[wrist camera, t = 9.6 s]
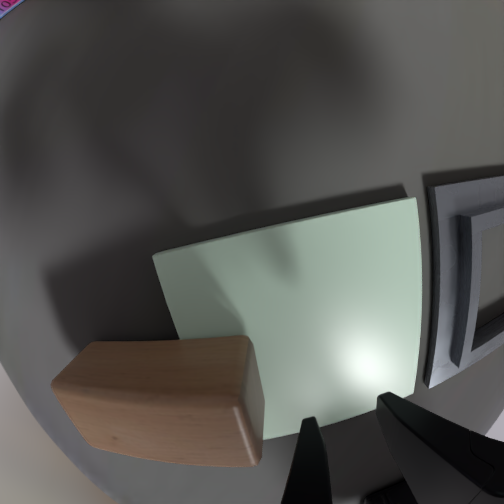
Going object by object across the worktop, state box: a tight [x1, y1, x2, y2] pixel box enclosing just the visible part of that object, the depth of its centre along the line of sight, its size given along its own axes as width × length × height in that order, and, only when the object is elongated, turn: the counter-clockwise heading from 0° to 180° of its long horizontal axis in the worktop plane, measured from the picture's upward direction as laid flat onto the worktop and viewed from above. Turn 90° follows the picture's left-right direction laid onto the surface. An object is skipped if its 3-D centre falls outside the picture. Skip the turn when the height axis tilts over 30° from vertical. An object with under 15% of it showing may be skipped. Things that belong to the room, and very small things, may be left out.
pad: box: [152, 197, 422, 440], centre depth 12 cm, size 11×11×1 cm
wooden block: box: [51, 335, 265, 467], centre depth 10 cm, size 4×4×8 cm
